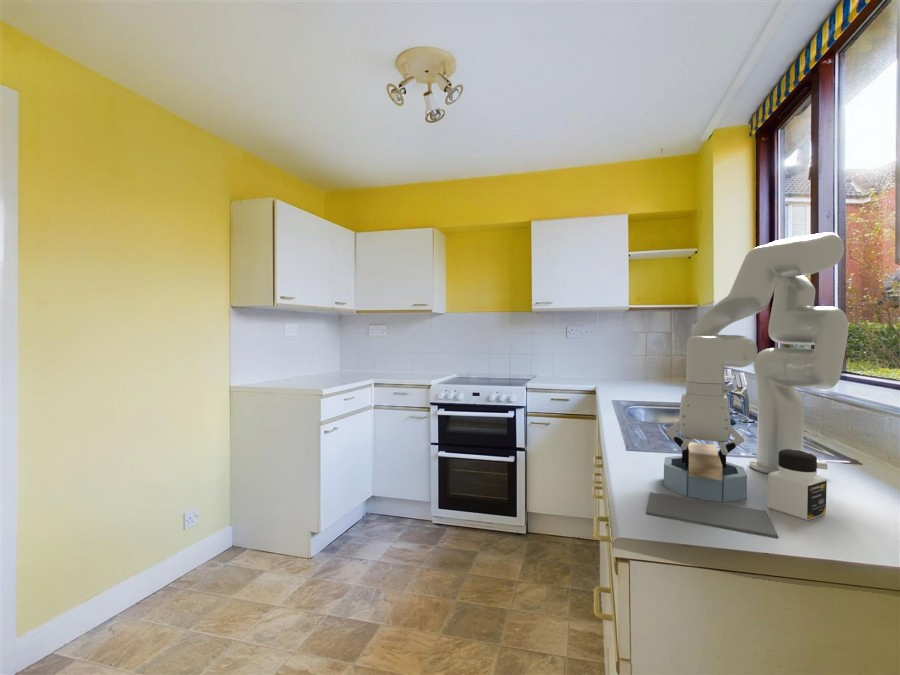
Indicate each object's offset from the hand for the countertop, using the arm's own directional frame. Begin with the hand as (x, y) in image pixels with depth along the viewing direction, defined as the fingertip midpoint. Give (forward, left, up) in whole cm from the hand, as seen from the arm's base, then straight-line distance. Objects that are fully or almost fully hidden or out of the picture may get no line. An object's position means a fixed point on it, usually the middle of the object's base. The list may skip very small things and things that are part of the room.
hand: (703, 467), depth 101 cm
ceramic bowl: (0, 0, -5) cm, 5 cm away
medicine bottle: (-16, +6, -5) cm, 18 cm away
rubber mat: (0, +16, -5) cm, 17 cm away
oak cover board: (0, 0, 0) cm, 0 cm away
